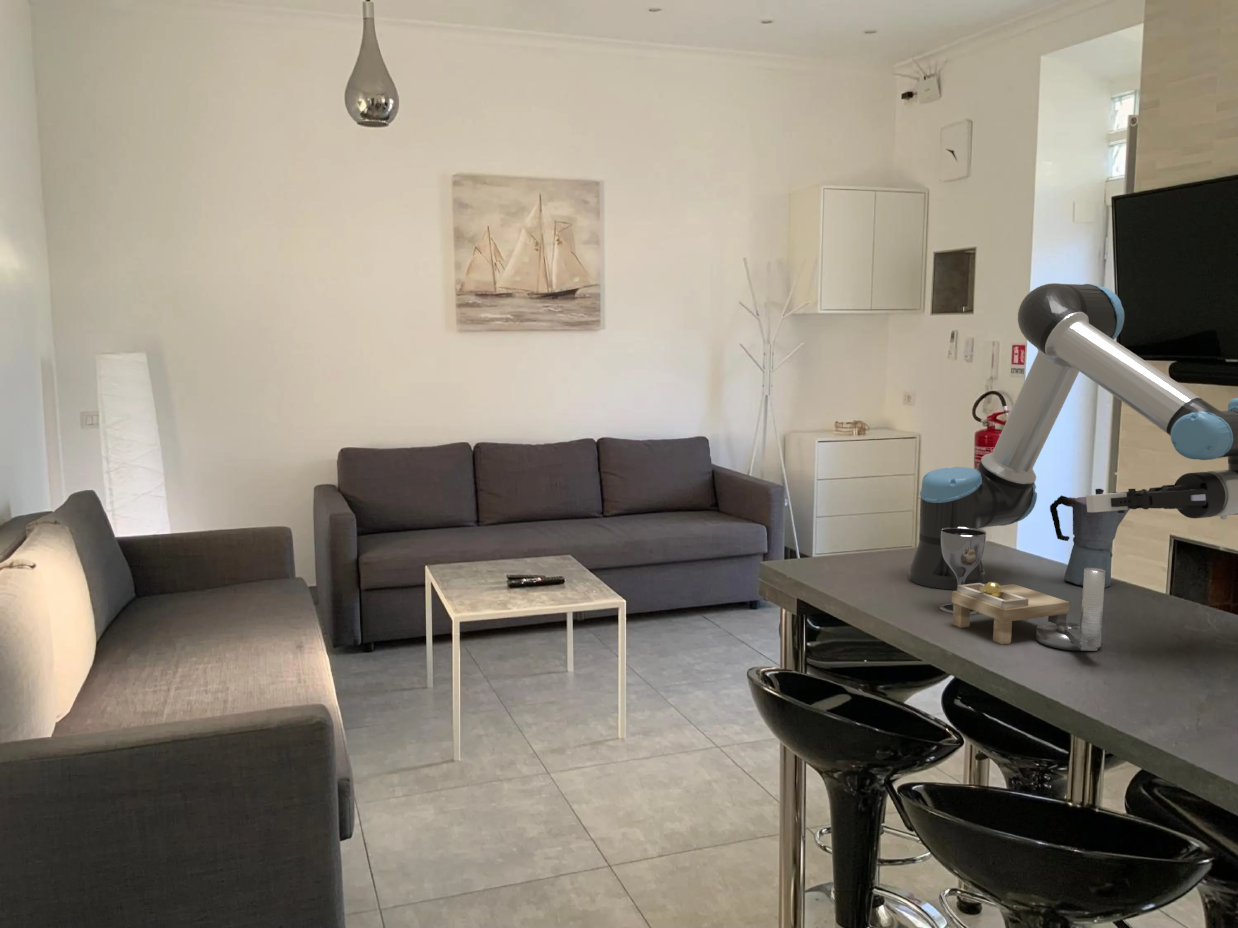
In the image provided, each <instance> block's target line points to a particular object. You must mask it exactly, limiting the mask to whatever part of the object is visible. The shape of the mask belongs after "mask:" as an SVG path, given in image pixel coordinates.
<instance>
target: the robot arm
mask: <svg viewBox="0 0 1238 928" xmlns="http://www.w3.org/2000/svg"><path fill="white" fill-rule="evenodd" d="M1017 311H1018V312H1017V324H1018V328H1019V330H1020V332H1021V334H1022V336H1024V338H1025V339H1026V341H1028V342H1029V343H1030V344H1031V345H1033V346H1034V347H1035V349H1037V354H1036V356H1035V358H1034V360H1033V363H1032V364H1031V366H1030V369H1029V371H1028V373H1027V375H1026V378H1025V380H1024V382H1023V384H1022V387H1021V389H1020V391H1019V394H1018V395H1017V397H1016V400H1015V402H1014V404H1013V407H1012V409H1011V410H1010V413H1009V416H1008V417H1007V419H1006V422H1005V424H1004V427H1003V429H1002V431H1001V433H1000V434H999V436H998V439H997V442H996V444H995V447H994V448H993V450H992V452H990V453H987V454H986V453H985V455H982V457H981V459H980V461H979V463H978V464H977V467H976V469H975V468H972V467H965V466H963V467H962V466H961V467H960V466H954V467H942V468H937V469H933V470H930V471H929V472H927V473H925V475H924V476H923V477H922V481H921V488H920V490H919V491H920V493H919V496H920V499H919V500H920V501H919V502H920V503H919V504H920V505H919V506H920V507H919V511H920V512H919V538H918V544H917V548H916V550H915V553H914V555H913V559H912V562H911V564H910V565H909V569H908V580H910V581H911V582H913V583H915V584H917V585H921V586H925V587H928V588H935V589H943V590H945V589H946V590H957V586H958V583H957V578H956V576H955V574H954V572H953V571H952V570H951V569H950V567H949V566H948V565H947V563H946V562H945V560H944V558H943V555H942V550H941V529H943V528H947V527H967V528H975V529H982V528H983V529H984V528H989V527H990V528H993V527H997V526H1001V527H1002V526H1007V525H1008V526H1009V525H1012V524H1014V523H1018V522H1020V521H1022V520H1024V519H1026V518H1027V517H1028V516H1029V515H1030V514H1031V513H1032V512H1033V510H1034V508H1035V505H1036V502H1037V500H1038V499H1037V498H1038V492H1037V491H1036V489H1037V485H1036V483H1035V482H1036V479H1037V475H1036V473H1035V471H1034V469H1033V468H1034V466H1035V465H1036V462H1037V460H1038V459H1039V456H1040V454H1041V452H1042V450H1043V448H1044V445H1045V444H1046V442H1047V440H1048V438H1049V435H1050V433H1051V431H1052V429H1053V428H1054V425H1055V423H1056V421H1057V418H1058V417H1059V414H1060V413H1061V411H1062V408H1063V407H1064V404H1065V402H1066V400H1067V398H1068V395H1069V393H1070V392H1071V390H1072V387H1073V385H1074V383H1075V381H1076V379H1077V377H1078V375H1079V373H1081V374H1083V375H1084V376H1085V377H1087V378H1089V379H1090V380H1091V381H1093V382H1094V383H1095V384H1097V385H1098V386H1100V387H1101V388H1102V389H1104V390H1106V391H1107V392H1108V393H1110V394H1111V395H1112V396H1114V397H1115V398H1116V399H1118V400H1120V401H1121V402H1122V403H1124V404H1125V405H1126V406H1128V407H1129V408H1130V409H1132V410H1133V411H1135V412H1136V413H1138V414H1139V415H1140V416H1142V417H1143V418H1145V419H1146V420H1148V422H1150V423H1151V424H1153V425H1155V427H1157V428H1159V430H1162V431H1163V432H1164V433H1166V434H1167V435H1169V436H1170V440H1171V441H1170V442H1171V443H1172V445H1173V447H1174V451H1176V452H1177V453H1178V454H1179V455H1181V456H1183V457H1184V458H1186V459H1189V460H1200V461H1209V460H1210V461H1211V460H1216V459H1221V458H1227V463H1228V464H1227V465H1228V466H1227V467H1228V469H1223V470H1220V469H1219V470H1208V471H1198V472H1197V471H1196V472H1188V473H1184V474H1182V475H1181V476H1179V477H1178V479H1177V480H1176V481H1175V483H1174V484H1164V485H1161V486H1160V487H1159V486H1158V487H1157V486H1156V487H1150V488H1149V489H1145V488H1142V489H1140V490H1137V489H1136V488H1128V491H1121V492H1118V491H1114V492H1111V493H1103V494H1096V493H1095V494H1088V495H1087V494H1086V495H1085V497H1086V501H1087V512H1104V511H1118V513H1125V511H1124V510H1128V508H1130V510H1137V509H1143V510H1149V509H1159V510H1160V509H1164V510H1177V511H1178V512H1179V513H1180V514H1181V515H1183V516H1184V517H1186V518H1189V519H1206V518H1213V517H1220V520H1227V519H1228V516H1237V515H1238V397H1236V398H1231V400H1229V402H1228V405H1227V410H1220V409H1218V408H1217V407H1215V406H1213V405H1211V404H1210V403H1209V402H1207V401H1206V400H1204V399H1202V398H1201V397H1200V396H1199V395H1197V394H1195V393H1194V392H1193V391H1191V390H1190V389H1188V388H1186V387H1185V386H1183V385H1182V384H1181V383H1179V382H1178V381H1176V380H1174V379H1173V378H1171V377H1170V376H1168V375H1167V374H1166V373H1164V372H1162V371H1161V370H1159V369H1158V368H1156V367H1155V366H1153V365H1152V364H1151V363H1149V362H1147V361H1146V360H1144V359H1143V358H1142V357H1140V356H1138V355H1137V354H1136V353H1134V352H1132V351H1131V350H1130V349H1128V348H1126V347H1125V346H1124V345H1122V344H1120V343H1119V342H1117V341H1116V340H1115V339H1116V338H1118V336H1119V334H1120V333H1121V331H1122V330H1123V326H1124V323H1125V310H1124V307H1123V304H1122V301H1121V299H1120V298H1119V296H1118V295H1117V294H1116V293H1115V292H1114V291H1112V290H1111V289H1109V288H1107V287H1104V286H1101V285H1094V284H1093V283H1084V284H1080V283H1079V284H1072V283H1071V284H1070V283H1069V284H1068V283H1056V282H1055V283H1046V284H1042V285H1040V286H1037V287H1036V288H1034V289H1033V290H1031V291H1030V292H1029V293H1027V295H1026V296H1025V297H1024V298H1023V300H1022V301H1021V303H1020V305H1019V307H1018V310H1017ZM985 582H986V573H985V569H984V568H983V563H982V561H981V562H980V563H979V564H978V565H977V566H976V567H975V568H974V569H973V570H972V571H971V572H970V573H969V575H968V576H967V577H966V579H965V582H964V585H966V584H974V583H982V584H986V583H985Z"/></svg>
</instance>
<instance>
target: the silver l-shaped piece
mask: <svg viewBox="0 0 1238 928" xmlns="http://www.w3.org/2000/svg"><path fill="white" fill-rule="evenodd" d="M1104 584H1105V570H1103V569H1098V568H1085V569H1084V579H1083V586H1082V596H1081V612H1080V624H1078V623H1073V622H1068V621H1066V622H1059V623H1057V624H1054V623H1051V622H1046V623H1042V624H1041V623H1040V624H1038V625H1037V626H1036V632H1035V639H1036V641H1038V642H1039V643H1041V644H1042V645H1045V646H1048V647H1052V648H1056V649H1060V650H1065V651H1066V650H1067V651H1078V652H1082V651H1083V652H1084V651H1085V652H1086V651H1093V652H1094V651H1096V652H1097V651H1098V649H1100V648H1101V647H1102V639H1103V637H1102V627H1103V612H1104V611H1103V610H1104V609H1103V608H1104V593H1105V587H1104Z"/></svg>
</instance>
